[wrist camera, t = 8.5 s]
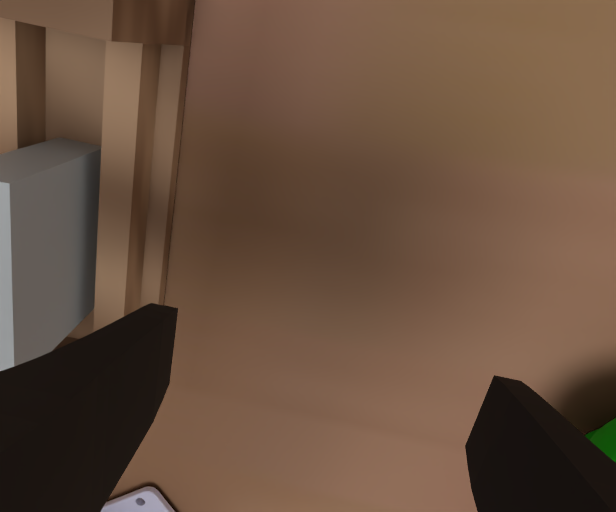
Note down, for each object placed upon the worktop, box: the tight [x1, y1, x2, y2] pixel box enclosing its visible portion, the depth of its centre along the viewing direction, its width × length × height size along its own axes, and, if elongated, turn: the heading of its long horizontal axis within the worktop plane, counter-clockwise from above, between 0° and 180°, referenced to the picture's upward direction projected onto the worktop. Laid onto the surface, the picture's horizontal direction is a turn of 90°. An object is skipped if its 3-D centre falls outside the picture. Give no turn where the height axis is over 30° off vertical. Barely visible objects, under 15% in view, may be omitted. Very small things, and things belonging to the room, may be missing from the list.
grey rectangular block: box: [0, 137, 101, 371], centre depth 18 cm, size 7×2×6 cm, turn 169°
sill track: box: [0, 0, 195, 351], centre depth 18 cm, size 16×7×7 cm, turn 169°
